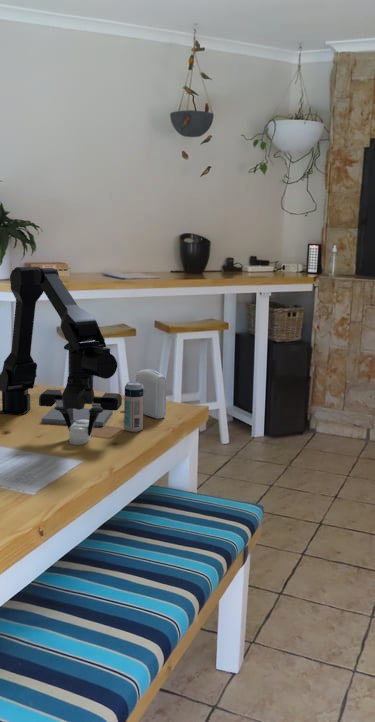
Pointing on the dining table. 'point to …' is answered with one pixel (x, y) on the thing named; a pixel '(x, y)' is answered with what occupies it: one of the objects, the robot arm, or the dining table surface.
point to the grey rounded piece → (79, 432)
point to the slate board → (76, 416)
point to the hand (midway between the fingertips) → (80, 434)
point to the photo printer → (153, 393)
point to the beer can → (133, 407)
